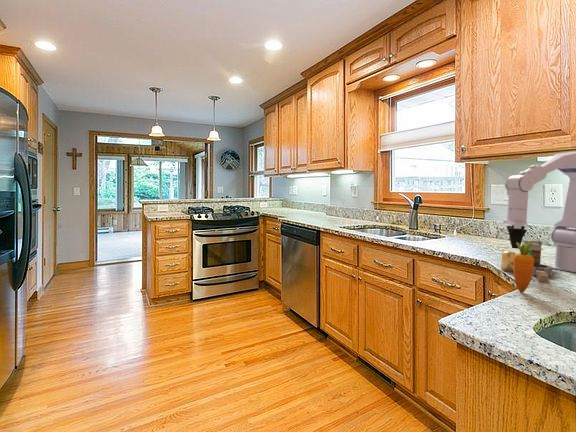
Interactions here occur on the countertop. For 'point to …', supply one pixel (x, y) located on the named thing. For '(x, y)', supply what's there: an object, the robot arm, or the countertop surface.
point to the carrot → (523, 267)
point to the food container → (535, 250)
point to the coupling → (542, 272)
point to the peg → (507, 261)
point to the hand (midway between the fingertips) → (515, 246)
